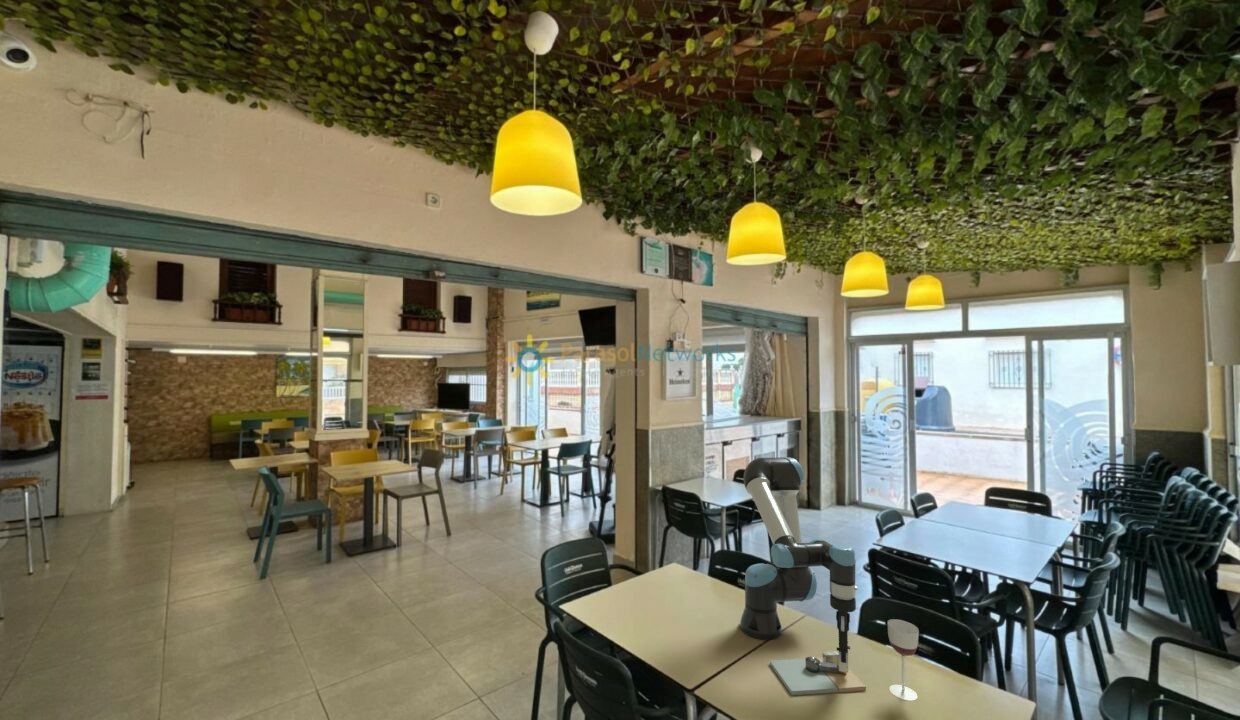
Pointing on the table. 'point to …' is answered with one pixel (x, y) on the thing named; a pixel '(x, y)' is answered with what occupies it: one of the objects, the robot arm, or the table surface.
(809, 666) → the swing bar
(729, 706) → the table surface
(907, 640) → the wineglass
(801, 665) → the door board
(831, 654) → the block
